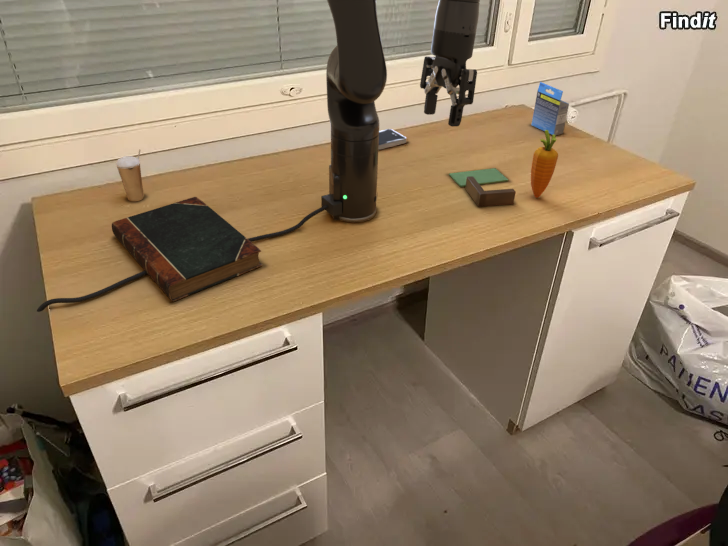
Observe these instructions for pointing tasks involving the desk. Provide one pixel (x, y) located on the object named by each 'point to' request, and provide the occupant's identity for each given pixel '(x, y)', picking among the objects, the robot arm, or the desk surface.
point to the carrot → (543, 165)
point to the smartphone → (390, 138)
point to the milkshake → (131, 177)
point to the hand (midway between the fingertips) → (441, 119)
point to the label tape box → (549, 110)
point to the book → (186, 247)
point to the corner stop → (488, 194)
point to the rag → (479, 176)
